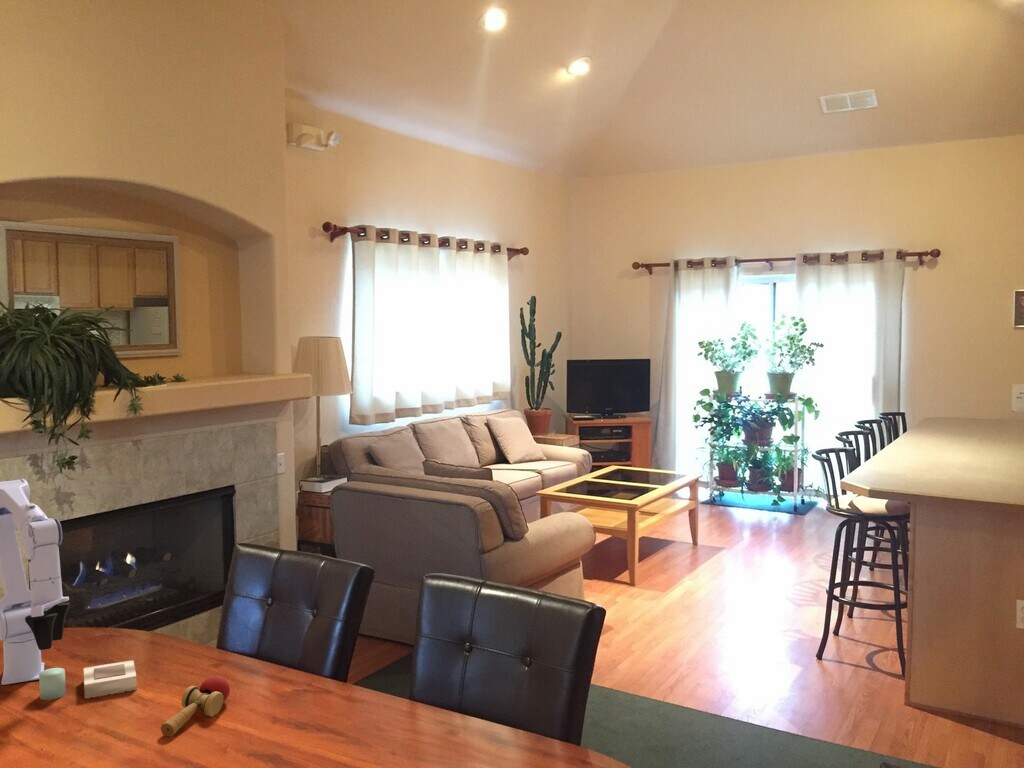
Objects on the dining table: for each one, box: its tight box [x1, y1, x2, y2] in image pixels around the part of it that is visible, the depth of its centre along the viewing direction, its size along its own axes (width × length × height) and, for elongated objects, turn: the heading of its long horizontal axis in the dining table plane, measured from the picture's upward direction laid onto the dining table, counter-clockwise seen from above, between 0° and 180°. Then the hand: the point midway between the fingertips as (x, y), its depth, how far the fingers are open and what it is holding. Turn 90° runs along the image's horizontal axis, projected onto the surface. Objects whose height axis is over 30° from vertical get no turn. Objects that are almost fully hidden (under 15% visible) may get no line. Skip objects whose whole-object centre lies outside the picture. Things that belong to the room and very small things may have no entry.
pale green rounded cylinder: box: [38, 667, 66, 701], centre depth 185 cm, size 5×5×5 cm
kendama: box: [160, 675, 231, 738], centre depth 175 cm, size 8×6×18 cm
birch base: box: [83, 659, 138, 699], centre depth 190 cm, size 10×10×3 cm
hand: (50, 644), depth 181 cm, fingers open, 7 cm apart
